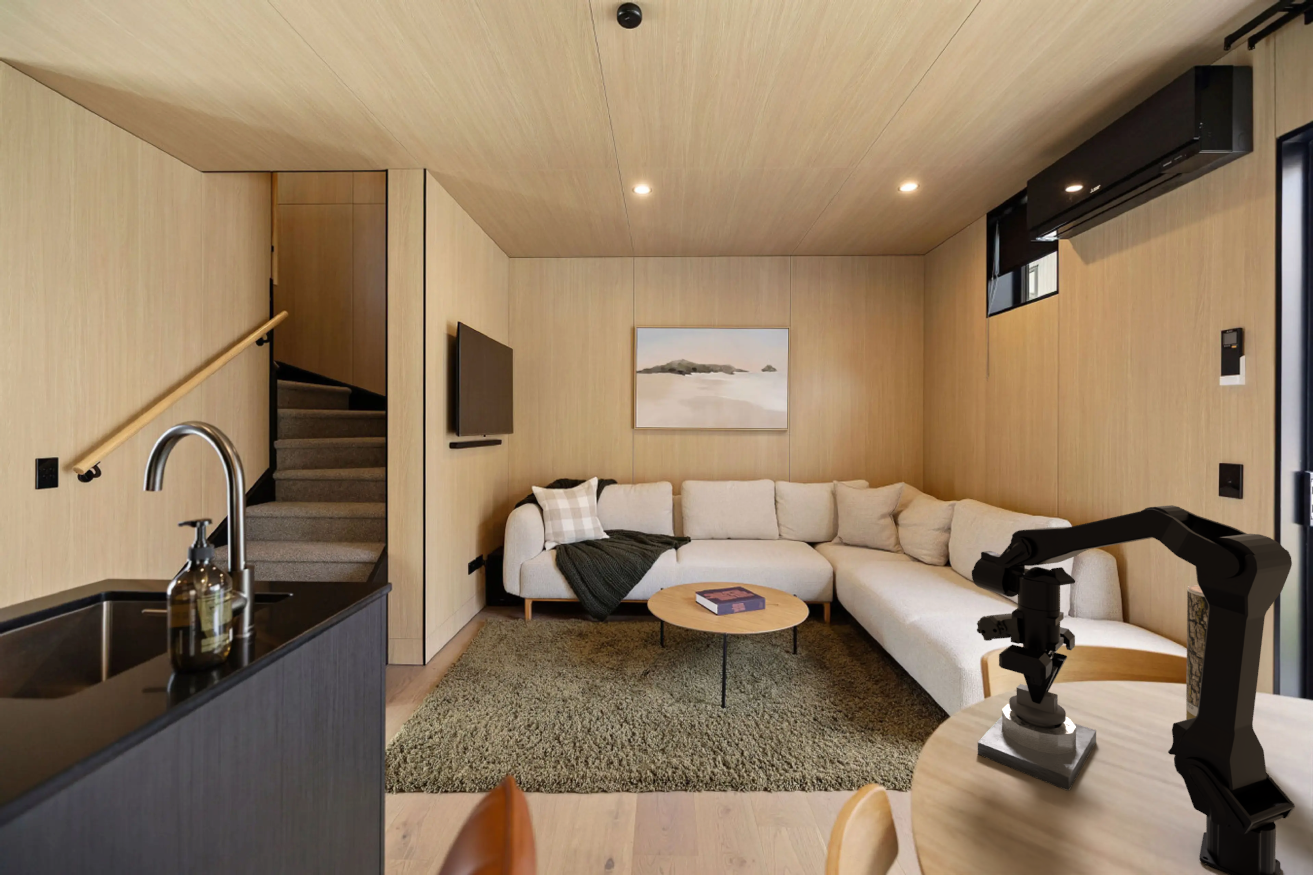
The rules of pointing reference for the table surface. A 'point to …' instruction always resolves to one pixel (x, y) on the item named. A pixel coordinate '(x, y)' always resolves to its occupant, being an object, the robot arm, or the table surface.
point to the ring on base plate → (1039, 748)
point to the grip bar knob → (1037, 709)
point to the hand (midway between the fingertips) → (1038, 700)
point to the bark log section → (1195, 646)
